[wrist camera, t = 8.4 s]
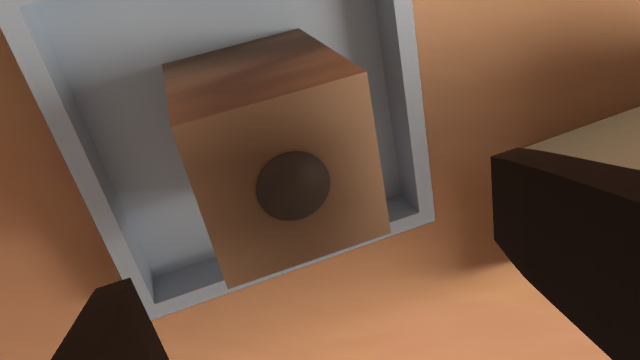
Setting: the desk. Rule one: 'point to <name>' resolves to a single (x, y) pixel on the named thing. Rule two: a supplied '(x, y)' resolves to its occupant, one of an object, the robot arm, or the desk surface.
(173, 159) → the tray
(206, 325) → the desk surface
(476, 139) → the desk surface
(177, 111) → the block
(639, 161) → the oversize block
